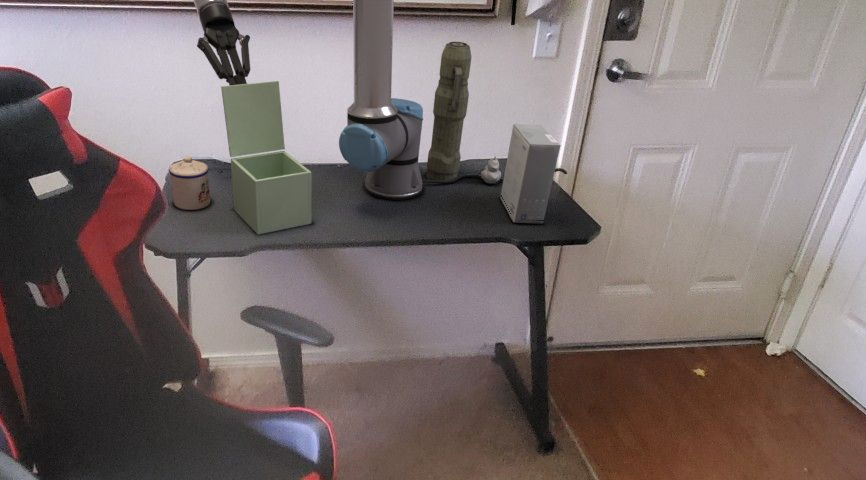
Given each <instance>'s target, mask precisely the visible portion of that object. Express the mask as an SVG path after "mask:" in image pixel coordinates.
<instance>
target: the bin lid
mask: <svg viewBox="0 0 866 480" xmlns="http://www.w3.org/2000/svg"><path fill="white" fill-rule="evenodd" d="M220 89H221V97H222V104H223V112H224V113H223V114H224V119H225V120H224V122H225V130H226V136H227V137H226V138H227V144H228V154H229V157H230V158H236V157H243V156H248V155H249V156H250V155H256V154H263V153H270V152H277V151H284V150H286V148H285V136H284V135H285V134H284V123H283V112H282V103H281V91H280V82H279V80H274V81H272V80H271V81H263V82H252V83H247V84H241V85H222V86H221V85H220Z"/></svg>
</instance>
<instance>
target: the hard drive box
mask: <svg viewBox="0 0 866 480" xmlns="http://www.w3.org/2000/svg"><path fill="white" fill-rule="evenodd" d="M561 146H562V145H561V144H560V143H559V142H558V140H557V139H555V138H554V137H553V135H552V134H551V133H550V132H549V131H548V130H547V129H546V128H545V127H544V126H543V125H542V124H519V123H513V125H512V129H511V136H510V140H509V145H508V153H507V158H506V163H505V167H504V168H505V169H504V174H503V179H504V180H503V182H502V186H501V192H500V198H499V199H500V201H501V202H502V204H503V206H504V207H505V209H506V212H507V213H508V215H509V217H510V219H511V221H512V222H513V223H515V224H544V221H516V220H545V216H546V212H547V207H548V203H549V199H550V194H551V190H552V186H553V185H552V184H553V180H554V176H555V173H556V172H555V169H556V167H557V162H558V158H559V153H560V149H561ZM501 195H502V197H503V199H504V200H503V199H502V197H501ZM504 201H505V202H504ZM505 203H506V204H505ZM506 205H507V206H506ZM507 207H508V208H507ZM508 209H509V210H508ZM509 211H510V212H509ZM510 213H511V214H510Z"/></svg>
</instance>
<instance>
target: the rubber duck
mask: <svg viewBox="0 0 866 480" xmlns="http://www.w3.org/2000/svg"><path fill="white" fill-rule="evenodd" d="M480 175H481V177H482V178H483V179H485V180H489V181H498V180H499V179H500V178H502V172H501V171H500V162H499V160H498V158H497V156H496V155H494V157H493V158H490V159H489V160H488V161H487V165H485V166H484V170H481V172H480ZM482 178H481V179H482ZM483 179H482V180H483ZM484 182H485V183H486V184H488V185H497V184H498V183H499V182H497V183H489V182H486V181H484Z"/></svg>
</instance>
